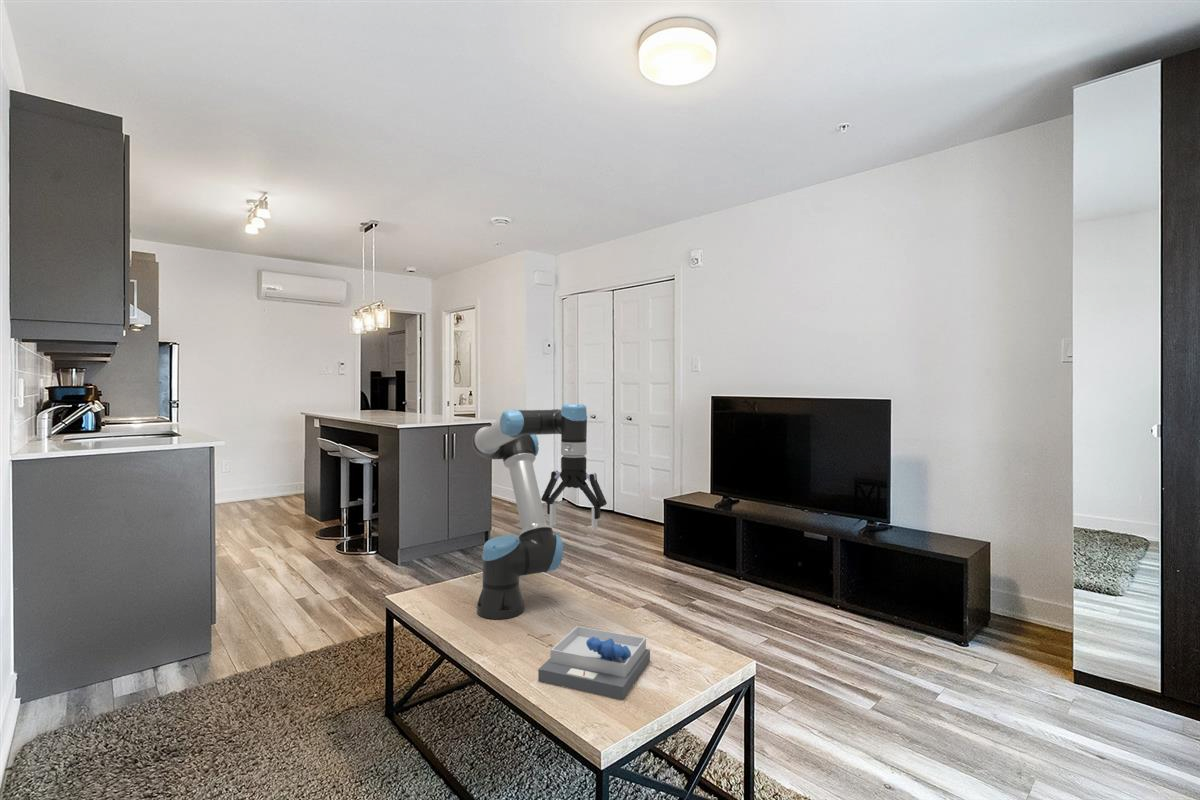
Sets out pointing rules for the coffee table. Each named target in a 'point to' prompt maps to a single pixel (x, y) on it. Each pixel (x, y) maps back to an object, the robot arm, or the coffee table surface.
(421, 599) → the coffee table surface
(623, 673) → the scale
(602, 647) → the grapes
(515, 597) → the robot arm
